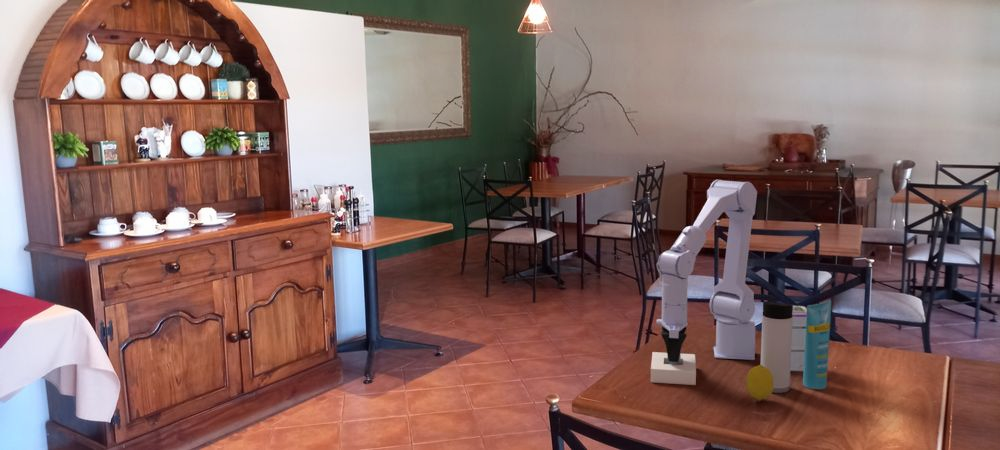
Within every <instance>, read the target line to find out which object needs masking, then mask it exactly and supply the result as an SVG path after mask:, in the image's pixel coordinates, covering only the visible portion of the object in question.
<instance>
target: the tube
mask: <svg viewBox="0 0 1000 450" xmlns="http://www.w3.org/2000/svg"><path fill="white" fill-rule="evenodd" d="M806 309H807V315H806V335H805V354H804V371H802V372H803V375H802V385H803V386H804V387H805V388H807V389H811V390H825V389H826V388H827V381H828V379H827V378H828V360H829V345H830V331H831V315H832V314H831V313H832V312H831V311H832V300H826V301H824V302H820V303H814V304H808V305H807V306H806Z"/></svg>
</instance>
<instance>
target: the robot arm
mask: <svg viewBox="0 0 1000 450" xmlns="http://www.w3.org/2000/svg"><path fill="white" fill-rule="evenodd" d="M757 195H758V191H757V189H756V187H755V186H754V185H753V183H751V181H731V180H723V179H715V180H713V181H712V183H711V184H710V186H709V188H708V189H707V190H706V199H707V200H706V202H705V203H704V205H703V206H702V208H701V211H700V212H699V214H698V215H697V217H696V219H695V221H694V223H693V225H689V226H686V227H685V228H683V230H682V232H681V233H680V235H679V236H678V237H677V239H676V240H675V242H674V243H673V245H672V246H671V247H670V249H669V250H665V251H664V252H662V253H661V254H660V255H659V257H658V260H657V262H656V270H657V271H658V273H659V280H660V281H661V318H657V319H656V324H657V325H661V338H662V340H663V341H664V345H665V348H666V353H667V355H668V360H669V362H678V360H679V356H680V351H681V352H682V347H683V344H684V341H685V340H686V338H687V333H686V331H687V326H688V325H689V324H688V320H687V319H688V279H689V278H688V277H689V276H690V275H691V274H692V273H693V272H694V268H695V262H696V260H697V258H696V257H697V255H698V254H699V252H701V249H702V248H703V246H705V244H706V242H707V236H706V235H707V232H708V231H709V230H710V228H712V226H713V225H714V224H715V223H716V221H717V220H718V219H719V218H720V216H721V215H722V214H723V213H725V215H726V216H727V217H728V218H729V224H728V230H727V231H728V233H727V240H726V250H725V259H724V267H723V268H724V269H723V275H722V276H723V277H722V281H720V282H719V283H717V284H716V285H715V286H713V291H712V296H711V297H710V300H709V311H710V312H711V314H712V315H713V319H715V320H716V322H715V323H716V327H715V328H716V331H715V334H716V335H715V346H712V347H713V352H714V353H713V354H714V355H713V356H714V358H716V359H727V360H729V359H730V360H745V361H747V360H749V361H754V360H755V357H756V356H755V351H756V323H755V321H753V320H752V318H753V316H754V314H755V311H756V306H755V305H756V304H755V299H754V295H755V292H754V291H753V290H752V289H751V288H750V287H749V285H747V284H746V276H747V269H748V259H749V249H750V240H751V232H752V226H753V225H752V224H753V217H754V216H755V214H756V205H757V197H758V196H757Z"/></svg>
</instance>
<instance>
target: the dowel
mask: <svg viewBox="0 0 1000 450" xmlns="http://www.w3.org/2000/svg"><path fill="white" fill-rule="evenodd" d="M681 352H682V350H681V351H680V356H679V360H678V362H669V360H668V355H667V364H673V365H680V359H681V354H682V353H681Z"/></svg>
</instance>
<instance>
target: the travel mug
mask: <svg viewBox="0 0 1000 450" xmlns="http://www.w3.org/2000/svg"><path fill="white" fill-rule="evenodd" d="M793 306H794V304H792V303H789V302H776V301H764V302H762V315H761V316H762V318H761V338H760V339H761V341H760V343H761V345H760V346H761V347H760V365H762V366H763V367H766V368H767V369H768V370H769V371H770V372H771V373H772V376H773V381H774V387H773V391H772V394H773V393H774V394H783V392H784V393H787V392H789V391H790V387H791V383H790V382H791V371H790V367H791V344H792V321H793V320H792V319H793V316H792V315H793V314H792V312H793Z"/></svg>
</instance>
